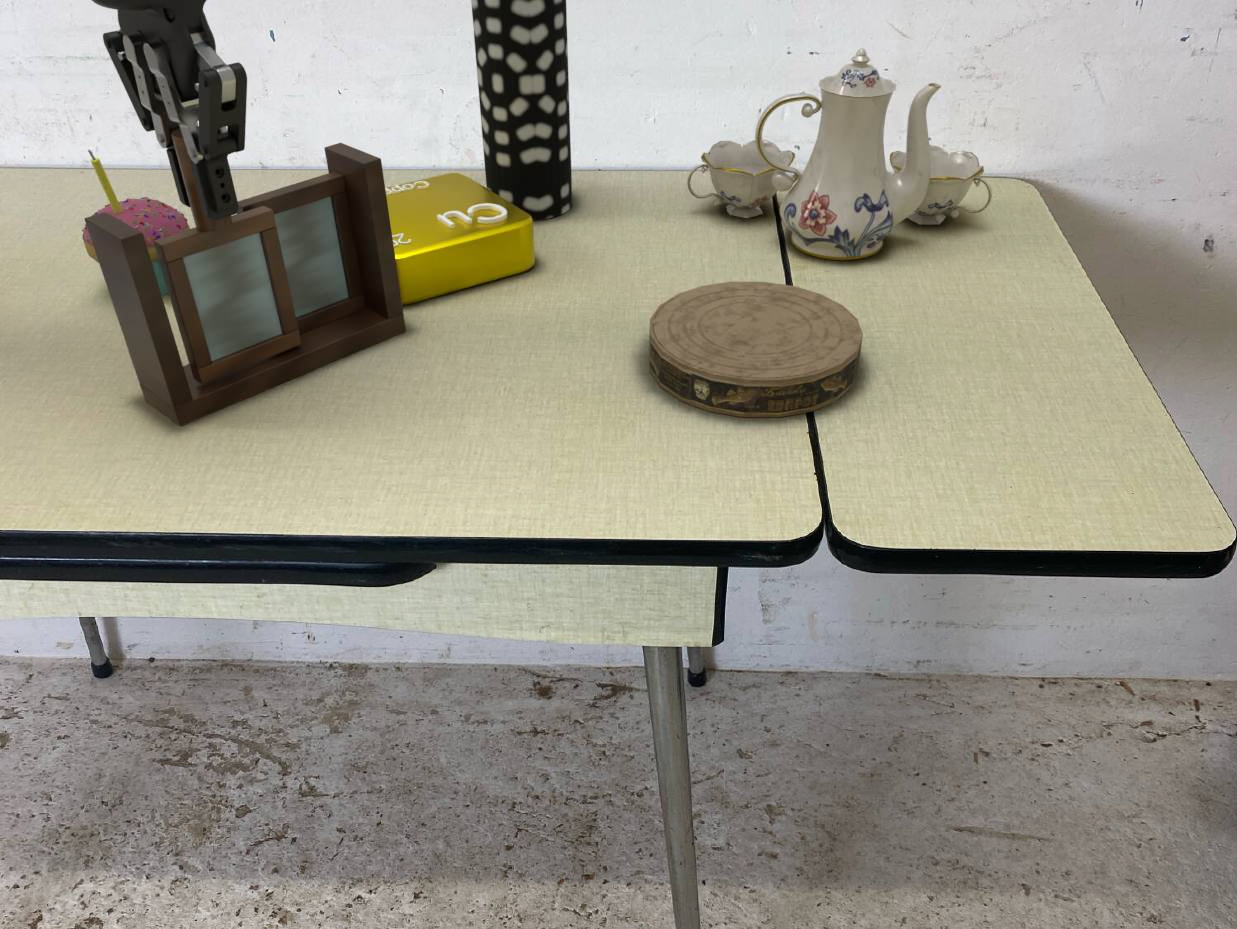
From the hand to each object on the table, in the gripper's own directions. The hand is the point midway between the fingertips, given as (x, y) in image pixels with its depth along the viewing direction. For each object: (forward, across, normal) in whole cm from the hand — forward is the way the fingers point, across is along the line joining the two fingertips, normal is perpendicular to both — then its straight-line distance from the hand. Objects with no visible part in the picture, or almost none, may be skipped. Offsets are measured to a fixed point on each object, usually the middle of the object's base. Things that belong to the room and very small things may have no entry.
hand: (210, 208), depth 72 cm
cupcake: (+13, -21, +3) cm, 25 cm away
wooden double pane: (+13, -1, +3) cm, 13 cm away
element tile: (+13, -8, +23) cm, 28 cm away
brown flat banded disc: (+13, +25, +28) cm, 40 cm away
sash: (+11, 0, 0) cm, 11 cm away
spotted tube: (+13, -11, +38) cm, 42 cm away
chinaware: (+13, +14, +54) cm, 57 cm away
